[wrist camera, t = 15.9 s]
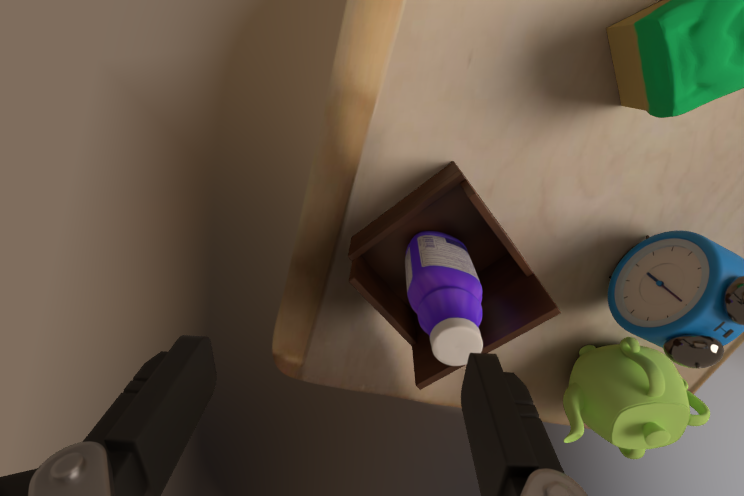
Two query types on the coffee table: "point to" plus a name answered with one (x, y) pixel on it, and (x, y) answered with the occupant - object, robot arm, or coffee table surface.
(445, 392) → the coffee table surface
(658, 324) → the alarm clock
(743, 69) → the cake
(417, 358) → the box
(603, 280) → the coffee table surface
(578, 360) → the teapot
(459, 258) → the bottle
